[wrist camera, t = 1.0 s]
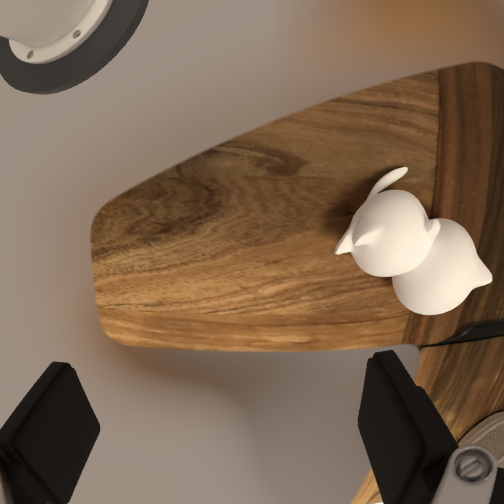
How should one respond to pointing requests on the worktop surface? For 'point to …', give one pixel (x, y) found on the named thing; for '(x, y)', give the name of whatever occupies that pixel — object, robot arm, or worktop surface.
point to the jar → (488, 436)
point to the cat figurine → (413, 250)
